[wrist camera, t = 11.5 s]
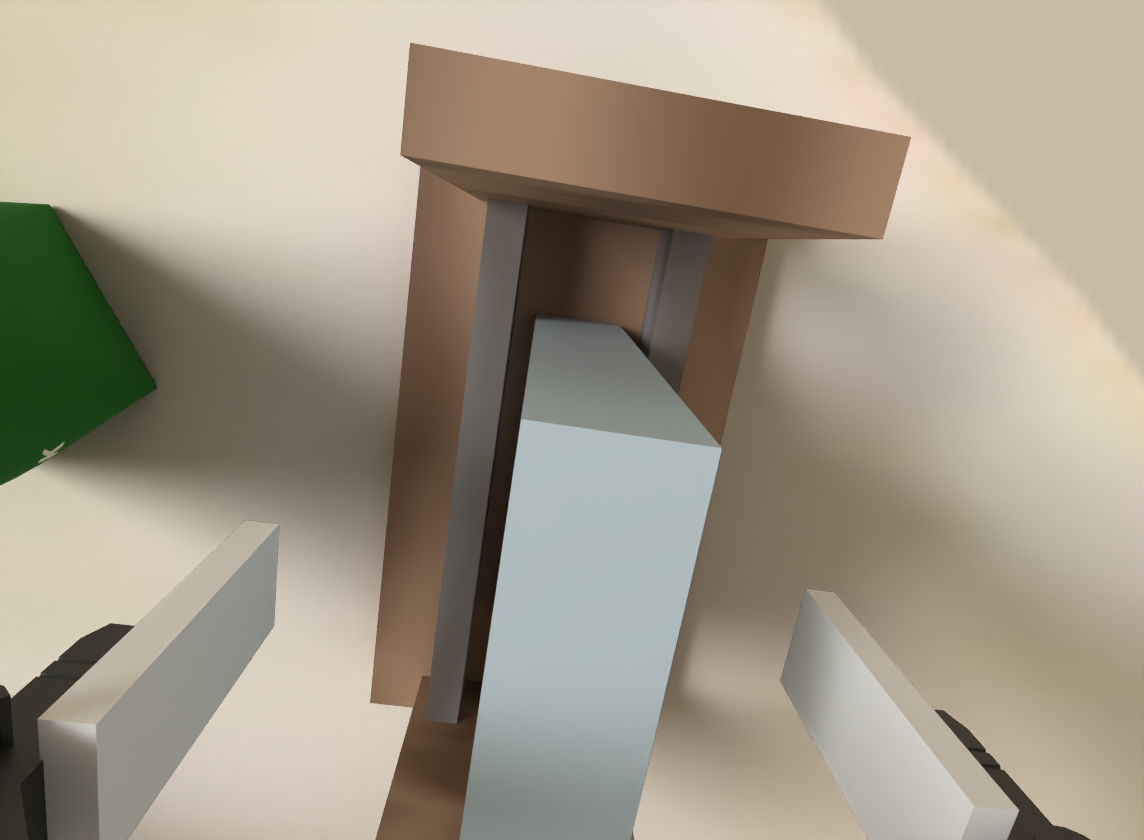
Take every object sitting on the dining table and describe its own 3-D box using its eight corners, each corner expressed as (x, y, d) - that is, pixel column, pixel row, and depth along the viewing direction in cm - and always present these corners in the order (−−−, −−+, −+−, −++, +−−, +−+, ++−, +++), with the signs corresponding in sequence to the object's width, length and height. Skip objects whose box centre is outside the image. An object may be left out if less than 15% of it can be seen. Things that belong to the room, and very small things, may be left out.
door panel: (492, 611, 26) (434, 1012, 12) (536, 312, 23) (520, 419, 9) (566, 619, 26) (587, 1023, 13) (620, 325, 23) (722, 448, 10)
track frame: (379, 678, 28) (237, 1051, 15) (431, 144, 23) (274, 17, 10) (647, 709, 29) (727, 1084, 16) (762, 202, 24) (1027, 158, 11)
